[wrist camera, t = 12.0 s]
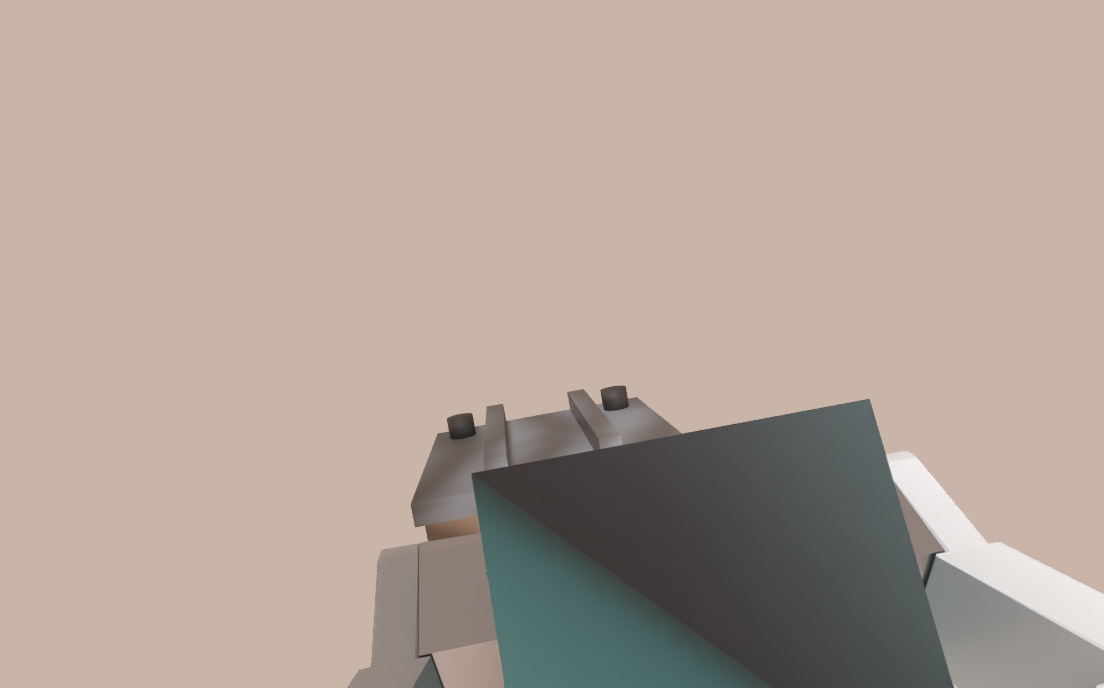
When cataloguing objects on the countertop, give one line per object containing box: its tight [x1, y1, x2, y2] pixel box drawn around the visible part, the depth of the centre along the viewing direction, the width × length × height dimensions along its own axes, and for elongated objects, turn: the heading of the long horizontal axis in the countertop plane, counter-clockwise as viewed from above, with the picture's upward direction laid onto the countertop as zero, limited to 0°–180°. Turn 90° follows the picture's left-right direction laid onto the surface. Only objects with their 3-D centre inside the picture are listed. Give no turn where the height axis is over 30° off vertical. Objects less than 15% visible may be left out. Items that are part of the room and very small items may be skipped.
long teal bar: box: [471, 399, 954, 688], centre depth 19 cm, size 4×26×4 cm, turn 5°
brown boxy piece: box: [411, 386, 682, 542], centre depth 46 cm, size 15×17×27 cm
